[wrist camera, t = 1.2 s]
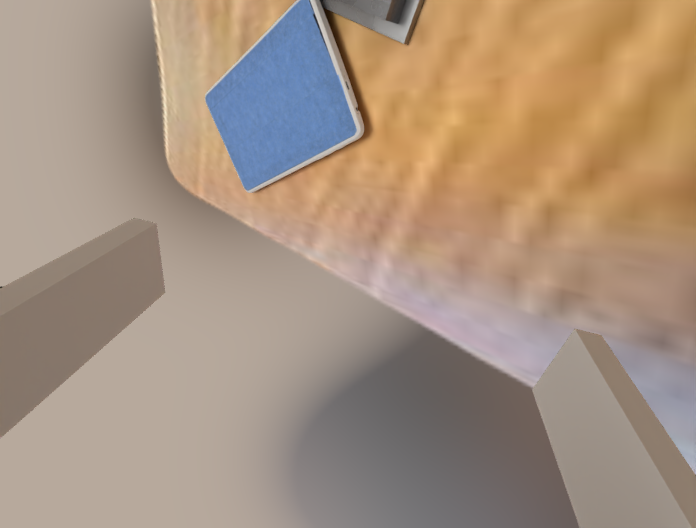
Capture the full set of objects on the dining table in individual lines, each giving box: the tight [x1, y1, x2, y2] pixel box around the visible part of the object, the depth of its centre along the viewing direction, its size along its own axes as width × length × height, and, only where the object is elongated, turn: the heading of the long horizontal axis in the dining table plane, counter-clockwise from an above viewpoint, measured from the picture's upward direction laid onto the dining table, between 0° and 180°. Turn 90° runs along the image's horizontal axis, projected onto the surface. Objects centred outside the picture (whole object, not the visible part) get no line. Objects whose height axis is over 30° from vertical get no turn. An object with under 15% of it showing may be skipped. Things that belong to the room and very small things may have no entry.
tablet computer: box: [205, 0, 364, 193], centre depth 36 cm, size 19×13×1 cm, turn 116°
